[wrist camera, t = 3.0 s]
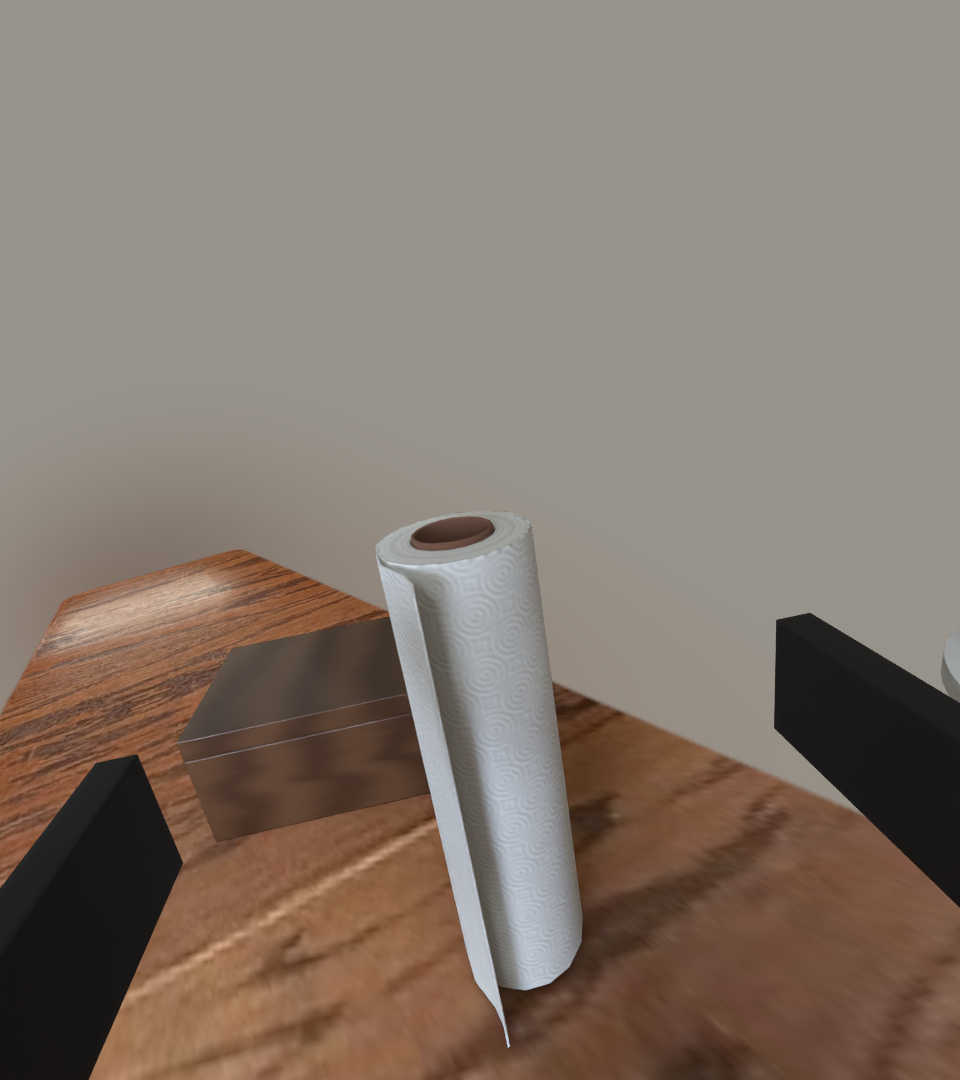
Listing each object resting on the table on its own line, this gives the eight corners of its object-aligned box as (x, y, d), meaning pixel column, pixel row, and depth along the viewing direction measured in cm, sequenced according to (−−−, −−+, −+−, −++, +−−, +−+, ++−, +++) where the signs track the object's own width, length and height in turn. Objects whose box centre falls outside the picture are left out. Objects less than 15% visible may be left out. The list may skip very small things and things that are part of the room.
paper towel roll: (519, 855, 32) (458, 500, 25) (608, 921, 28) (563, 513, 21) (421, 953, 28) (315, 554, 21) (509, 1051, 23) (410, 586, 16)
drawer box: (442, 689, 49) (425, 608, 47) (455, 787, 38) (433, 687, 35) (259, 729, 48) (231, 648, 45) (216, 842, 37) (175, 743, 34)
